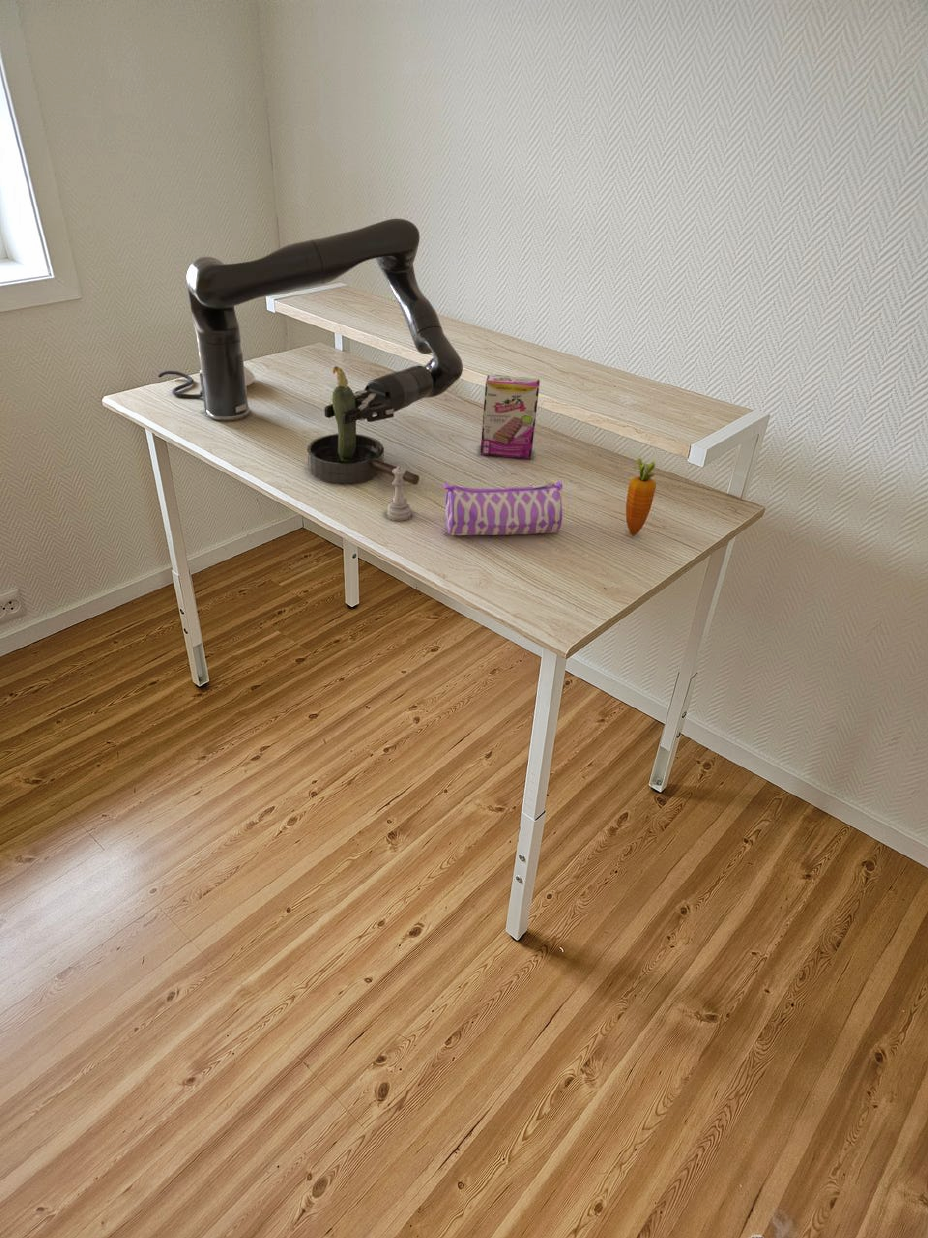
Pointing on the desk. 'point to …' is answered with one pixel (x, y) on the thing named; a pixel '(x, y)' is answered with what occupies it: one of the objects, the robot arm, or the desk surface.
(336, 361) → the desk surface
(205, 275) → the robot arm
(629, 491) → the carrot
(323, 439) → the pan
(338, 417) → the vegetable
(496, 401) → the candy bar box
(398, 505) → the chess piece
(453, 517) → the pencil case
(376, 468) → the pan handle
